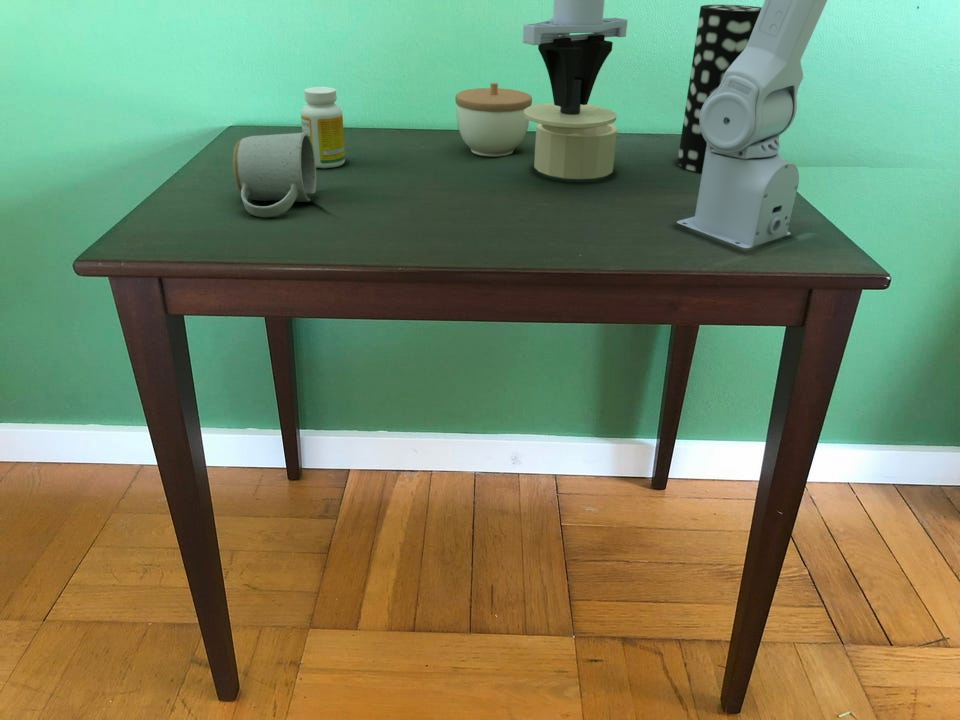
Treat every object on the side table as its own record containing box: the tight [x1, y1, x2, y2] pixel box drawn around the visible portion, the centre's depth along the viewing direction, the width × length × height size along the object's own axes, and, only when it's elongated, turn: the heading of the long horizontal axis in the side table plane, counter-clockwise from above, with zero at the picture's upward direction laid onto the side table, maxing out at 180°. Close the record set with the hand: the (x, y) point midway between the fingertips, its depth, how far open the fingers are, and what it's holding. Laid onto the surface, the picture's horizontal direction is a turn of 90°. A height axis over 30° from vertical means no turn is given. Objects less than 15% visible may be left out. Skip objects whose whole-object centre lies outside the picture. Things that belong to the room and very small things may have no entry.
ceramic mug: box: [232, 132, 317, 218], centre depth 87 cm, size 11×8×8 cm
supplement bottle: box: [300, 86, 346, 169], centre depth 102 cm, size 5×5×10 cm
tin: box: [533, 123, 618, 180], centre depth 102 cm, size 10×10×6 cm
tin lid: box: [524, 76, 617, 129], centre depth 92 cm, size 11×11×5 cm
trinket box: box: [454, 82, 533, 157], centre depth 109 cm, size 11×11×9 cm
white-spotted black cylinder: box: [676, 4, 762, 174], centre depth 102 cm, size 8×8×20 cm
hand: (570, 104), depth 93 cm, fingers closed on tin lid, 2 cm apart
